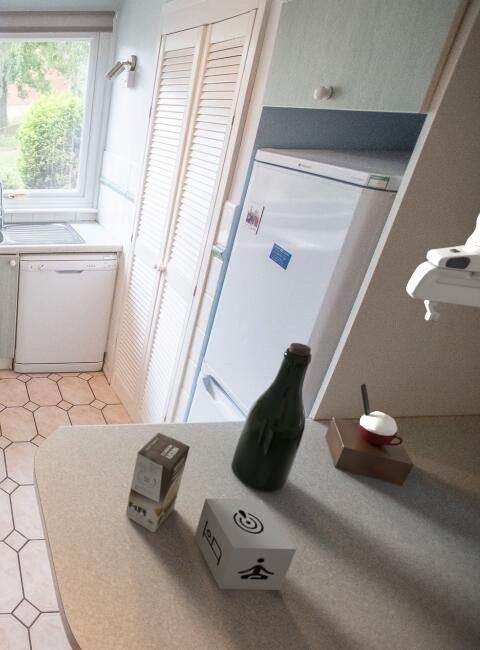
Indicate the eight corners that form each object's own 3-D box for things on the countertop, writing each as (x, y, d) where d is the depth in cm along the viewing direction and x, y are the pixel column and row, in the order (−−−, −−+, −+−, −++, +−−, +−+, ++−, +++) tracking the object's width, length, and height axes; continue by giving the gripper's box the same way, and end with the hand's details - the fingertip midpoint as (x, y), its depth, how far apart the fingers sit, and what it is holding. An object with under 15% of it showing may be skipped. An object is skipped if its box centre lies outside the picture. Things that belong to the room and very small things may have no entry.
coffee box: (155, 534, 87) (170, 470, 80) (124, 515, 91) (136, 453, 84) (175, 507, 93) (190, 446, 86) (145, 490, 97) (158, 430, 90)
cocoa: (402, 452, 99) (425, 407, 94) (376, 454, 98) (397, 409, 93) (364, 424, 107) (382, 382, 102) (339, 426, 107) (357, 383, 102)
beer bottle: (295, 484, 98) (346, 351, 85) (265, 501, 94) (314, 364, 81) (249, 454, 107) (289, 329, 93) (219, 468, 103) (257, 340, 89)
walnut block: (386, 451, 108) (396, 431, 105) (402, 486, 98) (414, 464, 95) (324, 436, 113) (332, 416, 110) (334, 467, 103) (343, 447, 100)
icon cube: (194, 537, 86) (205, 498, 82) (247, 539, 86) (261, 500, 82) (219, 588, 77) (233, 547, 73) (279, 590, 77) (296, 549, 73)
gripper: (559, 263, 85) (523, 328, 91) (418, 249, 94) (393, 310, 100) (581, 273, 80) (541, 342, 86) (430, 257, 89) (402, 321, 94)
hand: (460, 324), depth 93 cm, fingers open, 8 cm apart
